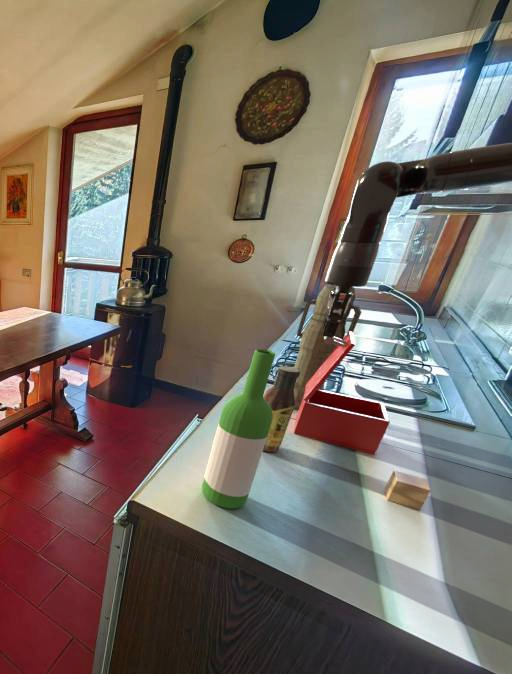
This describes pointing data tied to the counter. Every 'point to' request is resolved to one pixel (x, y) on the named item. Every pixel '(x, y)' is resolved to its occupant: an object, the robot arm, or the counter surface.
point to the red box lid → (329, 363)
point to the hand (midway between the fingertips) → (327, 332)
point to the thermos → (318, 340)
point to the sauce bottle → (280, 405)
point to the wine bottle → (240, 438)
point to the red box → (343, 421)
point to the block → (407, 489)
